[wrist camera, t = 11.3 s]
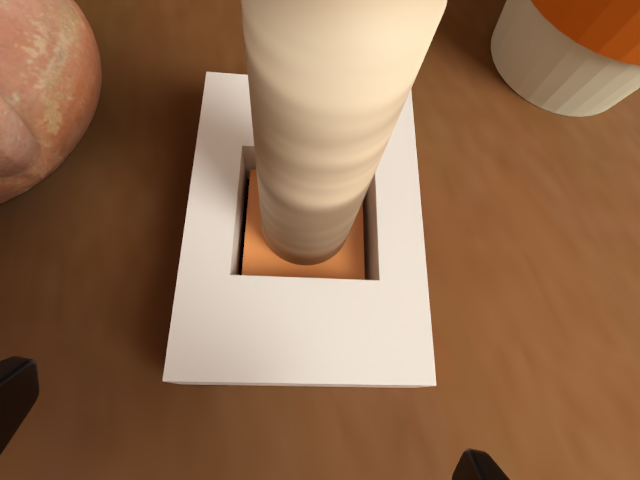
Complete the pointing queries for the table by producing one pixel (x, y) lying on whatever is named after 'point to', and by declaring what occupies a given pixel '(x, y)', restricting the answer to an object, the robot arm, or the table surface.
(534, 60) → the reusable coffee cup
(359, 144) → the cream ridged cylinder
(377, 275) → the frame
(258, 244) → the breaker button
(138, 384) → the table surface
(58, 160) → the ceramic jug
